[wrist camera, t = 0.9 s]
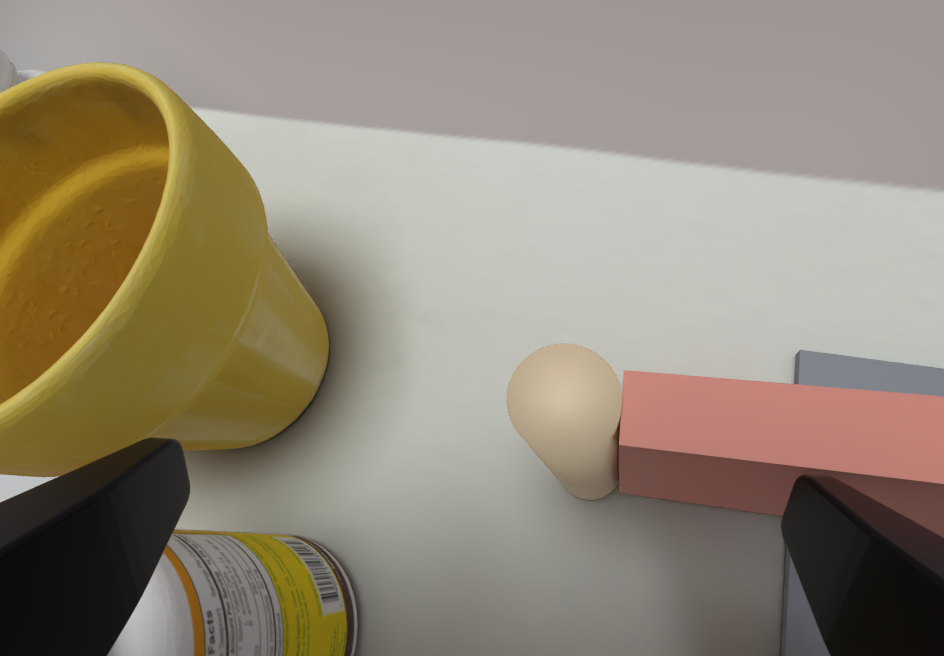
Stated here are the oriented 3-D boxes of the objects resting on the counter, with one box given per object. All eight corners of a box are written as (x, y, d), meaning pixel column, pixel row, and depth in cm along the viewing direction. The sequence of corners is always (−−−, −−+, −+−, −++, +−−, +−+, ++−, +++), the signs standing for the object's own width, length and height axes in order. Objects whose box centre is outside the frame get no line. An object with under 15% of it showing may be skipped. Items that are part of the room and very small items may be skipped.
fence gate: (1167, 504, 12) (1940, 438, 5) (1191, 591, 12) (2111, 654, 4) (560, 433, 16) (514, 339, 9) (554, 494, 16) (499, 447, 8)
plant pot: (112, 341, 23) (-197, 214, 14) (308, 203, 23) (121, -6, 15) (178, 562, 19) (-215, 572, 10) (423, 389, 19) (251, 246, 10)
